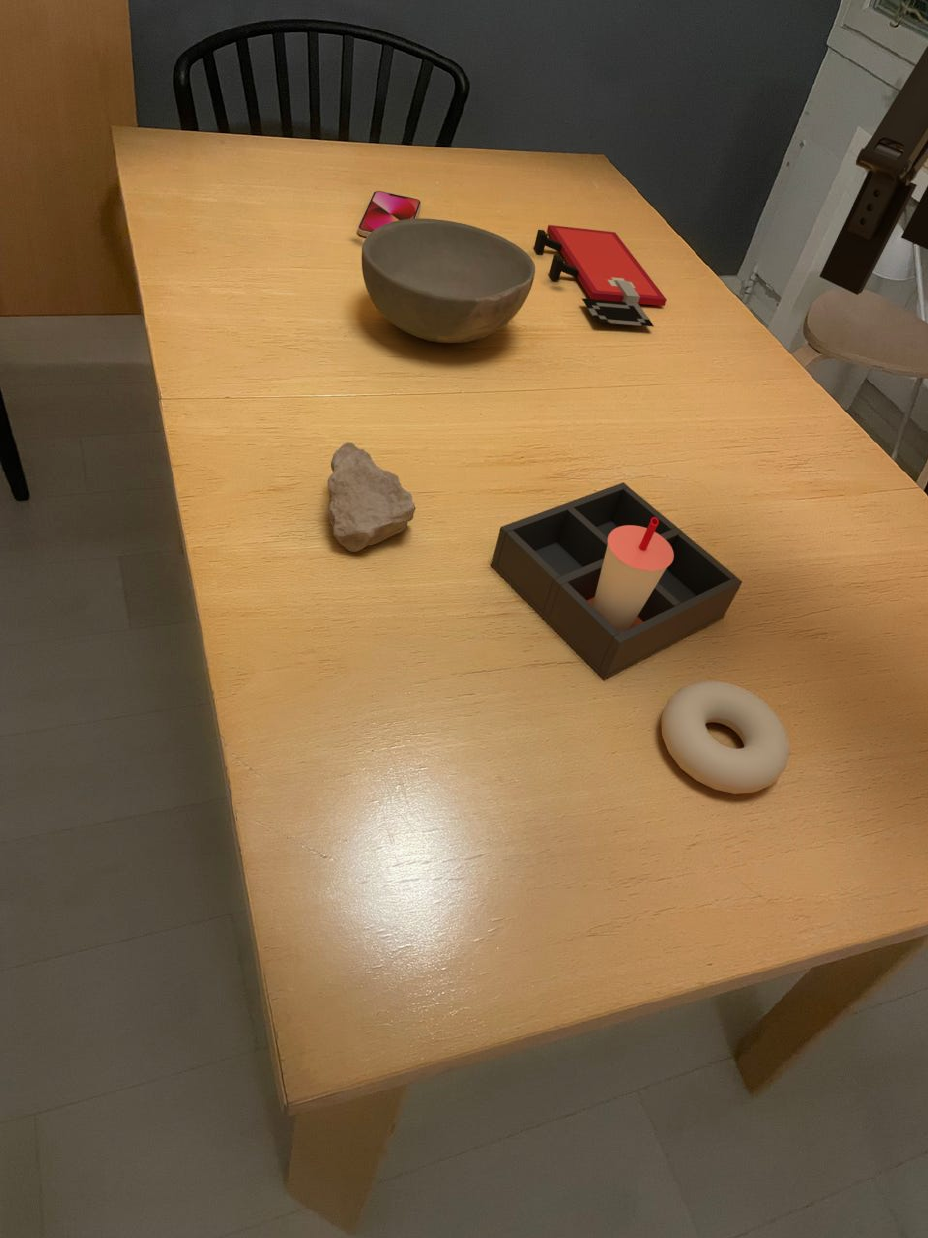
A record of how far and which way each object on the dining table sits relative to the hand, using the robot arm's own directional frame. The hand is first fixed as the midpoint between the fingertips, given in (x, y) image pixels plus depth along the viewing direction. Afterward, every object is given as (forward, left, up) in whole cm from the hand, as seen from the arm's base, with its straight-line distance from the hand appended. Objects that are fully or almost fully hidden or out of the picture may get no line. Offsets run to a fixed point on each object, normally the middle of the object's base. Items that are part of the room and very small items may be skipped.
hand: (882, 263), depth 59 cm
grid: (+5, +9, -32) cm, 33 cm away
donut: (-12, +13, -32) cm, 37 cm away
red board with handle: (+54, -36, -32) cm, 72 cm away
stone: (+23, +24, -32) cm, 46 cm away
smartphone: (+79, -16, -32) cm, 87 cm away
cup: (+1, +13, -31) cm, 34 cm away
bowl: (+50, -4, -32) cm, 59 cm away
